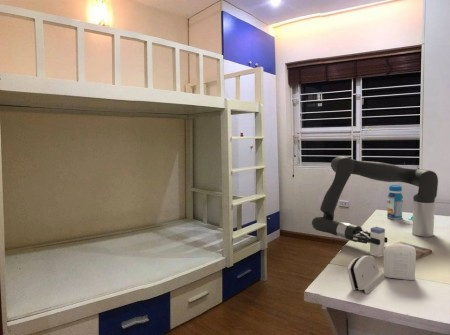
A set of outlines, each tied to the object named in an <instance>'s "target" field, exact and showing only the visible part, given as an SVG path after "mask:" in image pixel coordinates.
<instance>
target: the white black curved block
mask: <svg viewBox="0 0 450 335" xmlns="http://www.w3.org/2000/svg"><path fill="white" fill-rule="evenodd" d="M346 270H347V275H348V278H349V282H350V287H351V290H353V291H356V290H358V291H362V290H363V291H364V293H365V295H368V294H370V293H371V291H373V290H374V289H375V288H376V287H377V286H378V285H379V284H380V283H381V282H383V280H385V279H386V277H385V276H384V275H383V272H382V271H380V270H379V267H378V264H377V262H376V260H375V256H374V255H361V256H358V257H355V258H354V259H352V260H351V261H350V263H349V265H348V266H347V269H346Z"/></svg>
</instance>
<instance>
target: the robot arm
mask: <svg viewBox="0 0 450 335" xmlns="http://www.w3.org/2000/svg"><path fill="white" fill-rule="evenodd" d="M330 167H331V169H332V171H333V172H334V173H335V175H334V178H333V180H332V183H331V184H330V187H329V188H328V189H327V190H326V192H325V194H324V197H323V200H322V201H321V205H320V207H319V208H320V209H319V210H320V211H321V213H323V214H322V216H315V217H314V218H312V220H311V226H312V228H313V229H314V230H316V231H317V232H318V231H319V232H322V233H327V234H331V235H333V236H337V237H339V238H341V239H343V240H347V241H351V242H354V243H361V244H370V243H373V244H376V245H380V240H379V239H375V238H371V237H370V232H371V231H368V230H364V229H363V228H362V227H361V226H360V225H356V224H352V223H350V222H349V223H348V222H342V221H339V220H335V210H336V208H337V205H338V203H339V199H340V197H341V195H342V193H343V191H344V188H345V186H346V184H347V182H348V181H349V179H350V177H351V175H357V176H360V177H363V178H365V179H370V180H374V181H378V182H379V181H380V182H385V183H404V184H408V185H412V186H414V187H415V186H416V187H418V190H417V193H416V194H414V195H413V200H412V201H413V202H412V203H413V204H412V205H413V206H412V215H413V220H412V226H411V228H412V230H411V233H412V234H413V236H418V237H425V238H428V237H429V238H430V237H433V236H434V232H435V231H434V229H435V226H434V225H435V201H436V198H437V196H438V188H439V186H438V185H439V177H438V174H437V173H436V172H435V171H433V170H429V169H423V168H422V169H421V168H420V169H418V168H406V167H401V166H398V165H395V164H391V163H386V162H379V161H366V160H357V159H353V158H351V157H347V156H344V155H342V156H341V155H340V156H336V157H335V158H333V159H331V163H330ZM387 243H388V237H385V243H384V244H387Z"/></svg>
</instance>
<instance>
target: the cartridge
mask: <svg viewBox="0 0 450 335" xmlns="http://www.w3.org/2000/svg"><path fill="white" fill-rule="evenodd" d="M369 232H370V237H371V238H375V239H379V240H380V245H376V244H373V243H369V250H370V251H369V255H370V256H373V257H378V258H379V257H384V247H385V244H386V243H385V236H386V234H385V233H386V229H385V228H384V227H383V228H382V227H379V226H374V227H370V231H369Z"/></svg>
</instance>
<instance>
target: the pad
mask: <svg viewBox="0 0 450 335" xmlns="http://www.w3.org/2000/svg"><path fill="white" fill-rule="evenodd" d="M393 244H405V245H409V246H412V247H414V248H415V251H416V260H417V259H420V258H423V257H425V256H428V255H430V254H432V253H433V249H430V248H426V247H422V246H419V245H415V244H412V243H407V242H403V241H398V242H395V243H393ZM384 249H385V246H384Z"/></svg>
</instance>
